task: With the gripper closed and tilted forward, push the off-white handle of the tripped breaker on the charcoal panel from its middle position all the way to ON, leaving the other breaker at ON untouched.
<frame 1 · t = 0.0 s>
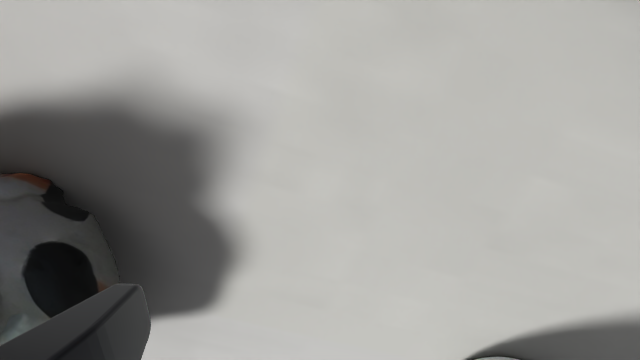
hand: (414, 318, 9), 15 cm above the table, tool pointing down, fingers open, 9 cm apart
lucky cat figurine: (1, 246, 29), on the table
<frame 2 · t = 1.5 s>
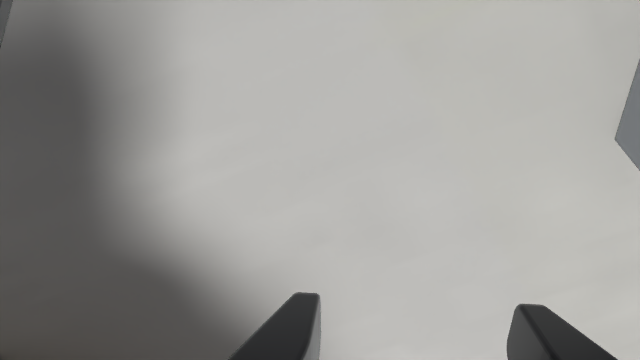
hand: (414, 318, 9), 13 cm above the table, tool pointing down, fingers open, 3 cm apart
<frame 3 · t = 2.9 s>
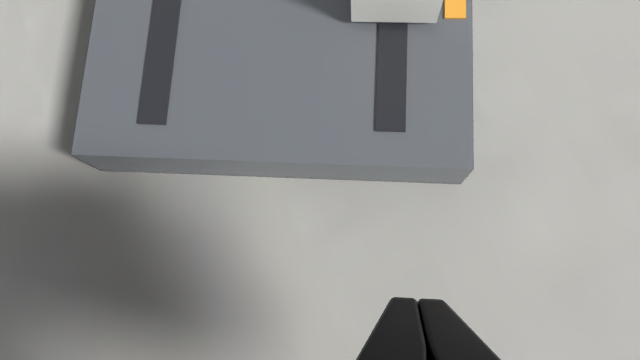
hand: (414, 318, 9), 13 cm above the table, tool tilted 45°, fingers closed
breaker panel: (286, 33, 24), on the table
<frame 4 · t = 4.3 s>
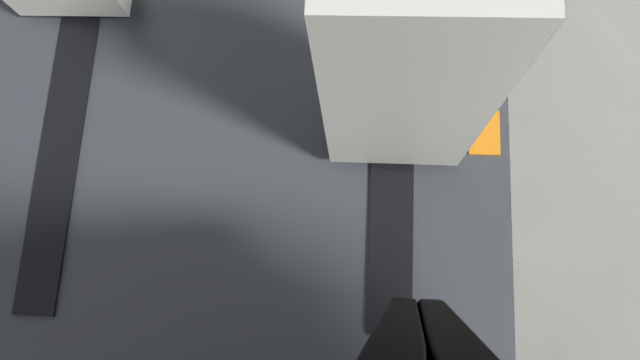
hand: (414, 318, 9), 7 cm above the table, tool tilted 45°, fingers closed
breaker tripped: (406, 66, 10), point 7 cm above the table, slide at 4.0 cm
breaker panel: (244, 151, 17), on the table
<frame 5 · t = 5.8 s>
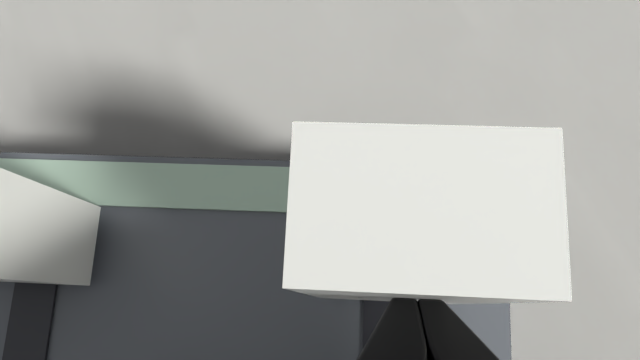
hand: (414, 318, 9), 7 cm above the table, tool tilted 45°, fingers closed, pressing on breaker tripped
breaker tripped: (399, 242, 10), point 7 cm above the table, slide at 8.0 cm, touching gripper
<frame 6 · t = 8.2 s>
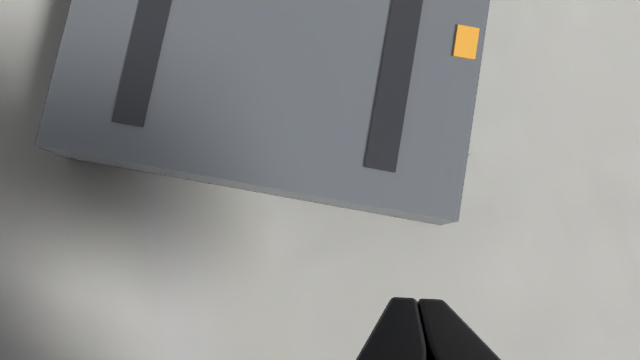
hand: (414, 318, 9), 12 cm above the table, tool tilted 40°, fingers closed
breaker panel: (283, 36, 22), on the table
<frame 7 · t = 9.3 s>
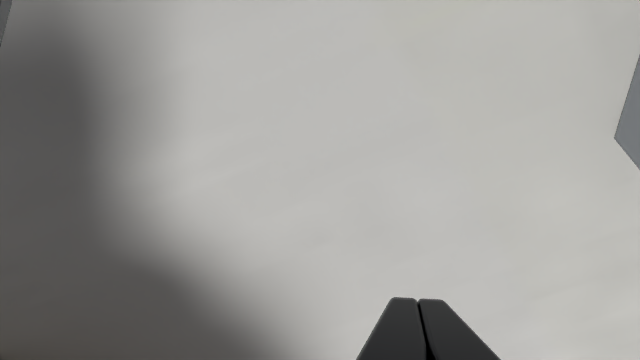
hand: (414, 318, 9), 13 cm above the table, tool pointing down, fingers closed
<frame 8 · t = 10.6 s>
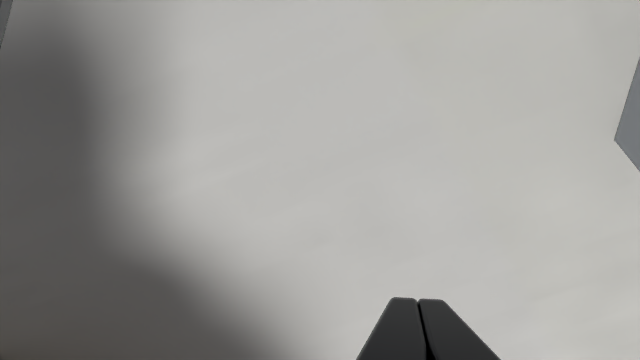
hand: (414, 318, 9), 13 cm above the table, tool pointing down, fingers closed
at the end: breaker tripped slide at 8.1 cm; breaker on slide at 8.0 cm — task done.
